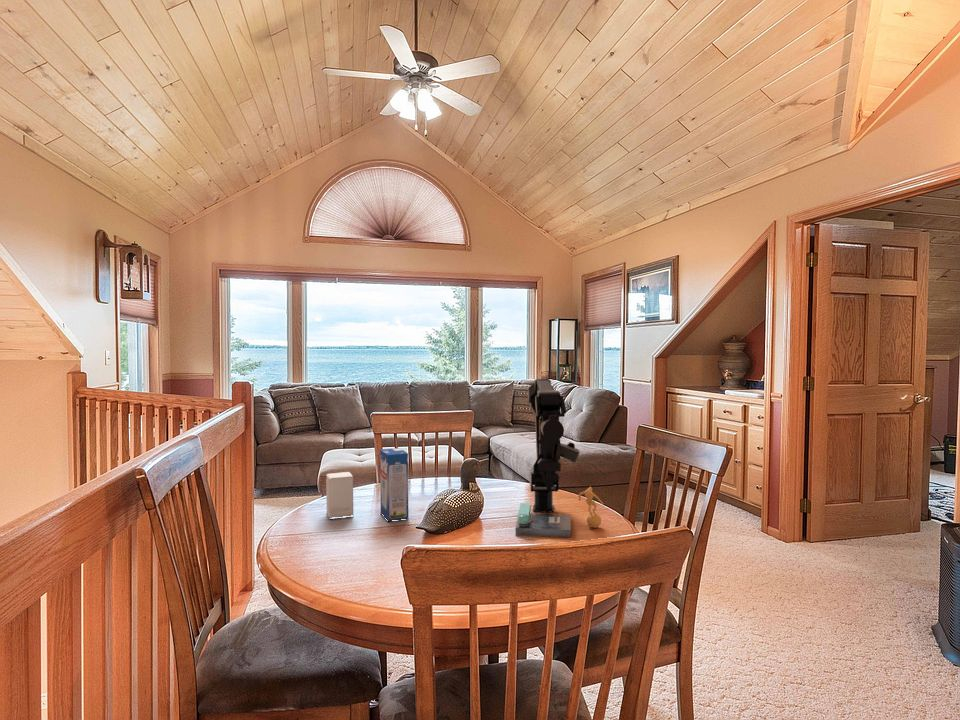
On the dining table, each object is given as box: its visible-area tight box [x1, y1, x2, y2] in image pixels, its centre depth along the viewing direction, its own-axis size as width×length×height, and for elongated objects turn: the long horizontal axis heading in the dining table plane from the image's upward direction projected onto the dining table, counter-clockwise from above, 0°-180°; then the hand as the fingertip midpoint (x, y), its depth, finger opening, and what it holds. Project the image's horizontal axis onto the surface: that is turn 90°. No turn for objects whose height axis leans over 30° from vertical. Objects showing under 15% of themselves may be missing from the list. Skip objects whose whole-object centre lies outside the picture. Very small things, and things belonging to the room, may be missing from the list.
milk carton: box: [379, 447, 409, 521], centre depth 165 cm, size 10×6×20 cm, turn 23°
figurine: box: [578, 486, 605, 529], centre depth 153 cm, size 8×6×12 cm
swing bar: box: [517, 502, 532, 524], centre depth 154 cm, size 13×3×2 cm, turn 172°
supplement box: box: [325, 471, 354, 519], centre depth 166 cm, size 7×7×13 cm
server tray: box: [515, 512, 572, 538], centre depth 154 cm, size 14×15×3 cm
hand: (549, 489), depth 155 cm, fingers closed
